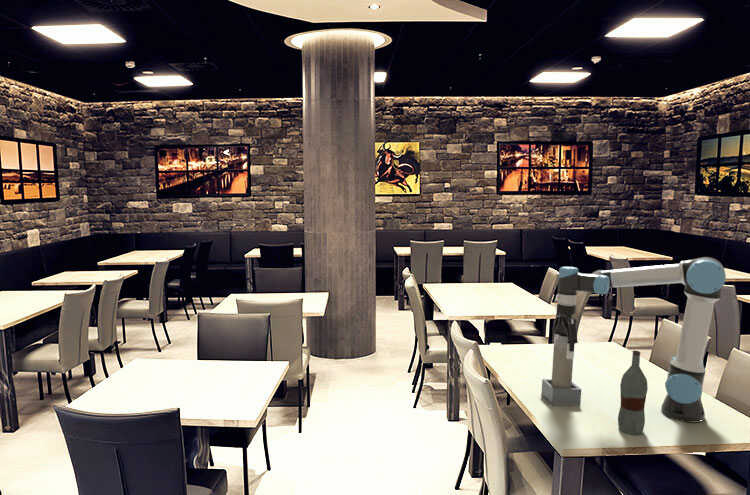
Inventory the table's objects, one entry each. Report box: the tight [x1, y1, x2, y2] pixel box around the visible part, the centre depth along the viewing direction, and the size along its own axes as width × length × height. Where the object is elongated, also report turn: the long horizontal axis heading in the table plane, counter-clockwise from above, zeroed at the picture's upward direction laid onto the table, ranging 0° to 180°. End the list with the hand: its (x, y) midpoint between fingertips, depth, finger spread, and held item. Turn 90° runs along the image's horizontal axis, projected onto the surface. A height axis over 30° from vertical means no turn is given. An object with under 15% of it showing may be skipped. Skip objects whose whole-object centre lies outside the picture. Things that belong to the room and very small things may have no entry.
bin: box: [541, 378, 582, 407], centre depth 230 cm, size 12×12×7 cm
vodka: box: [617, 350, 649, 436], centre depth 201 cm, size 9×9×30 cm
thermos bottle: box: [551, 331, 574, 388], centre depth 229 cm, size 8×8×28 cm
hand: (563, 353), depth 228 cm, fingers open, 13 cm apart
